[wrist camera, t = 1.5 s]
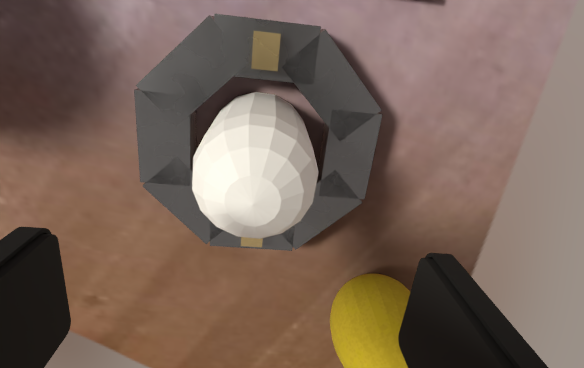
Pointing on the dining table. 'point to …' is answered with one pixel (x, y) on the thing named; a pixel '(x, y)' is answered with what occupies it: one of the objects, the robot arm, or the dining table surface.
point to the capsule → (255, 167)
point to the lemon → (369, 322)
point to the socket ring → (268, 66)
